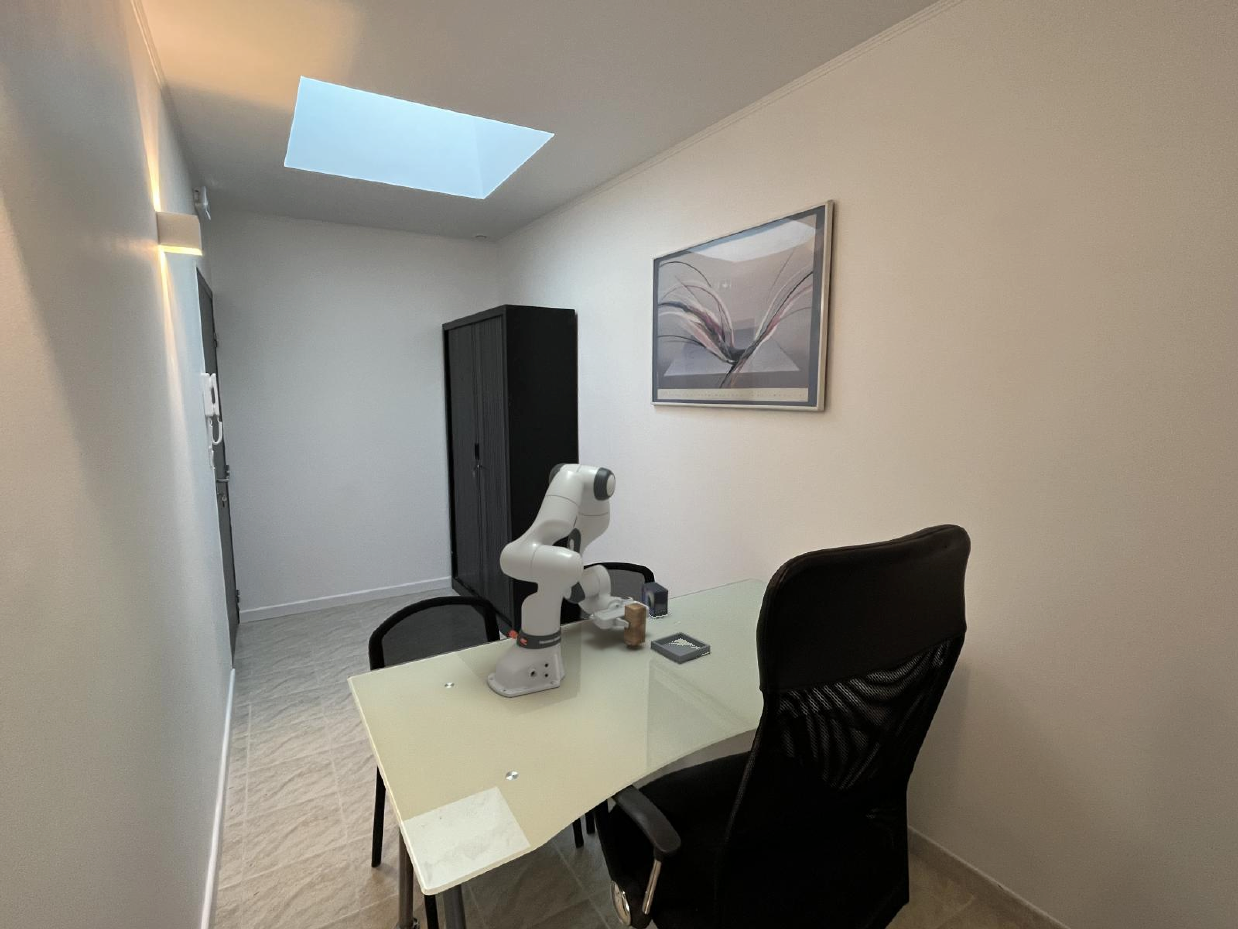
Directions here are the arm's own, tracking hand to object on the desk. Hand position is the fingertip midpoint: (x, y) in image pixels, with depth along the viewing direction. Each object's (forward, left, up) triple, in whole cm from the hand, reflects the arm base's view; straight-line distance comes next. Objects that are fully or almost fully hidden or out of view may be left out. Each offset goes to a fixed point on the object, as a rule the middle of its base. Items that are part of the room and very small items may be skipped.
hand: (636, 623), depth 194 cm
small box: (+25, +20, -9) cm, 33 cm away
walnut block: (0, +1, -7) cm, 7 cm away
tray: (+10, -10, -9) cm, 17 cm away
